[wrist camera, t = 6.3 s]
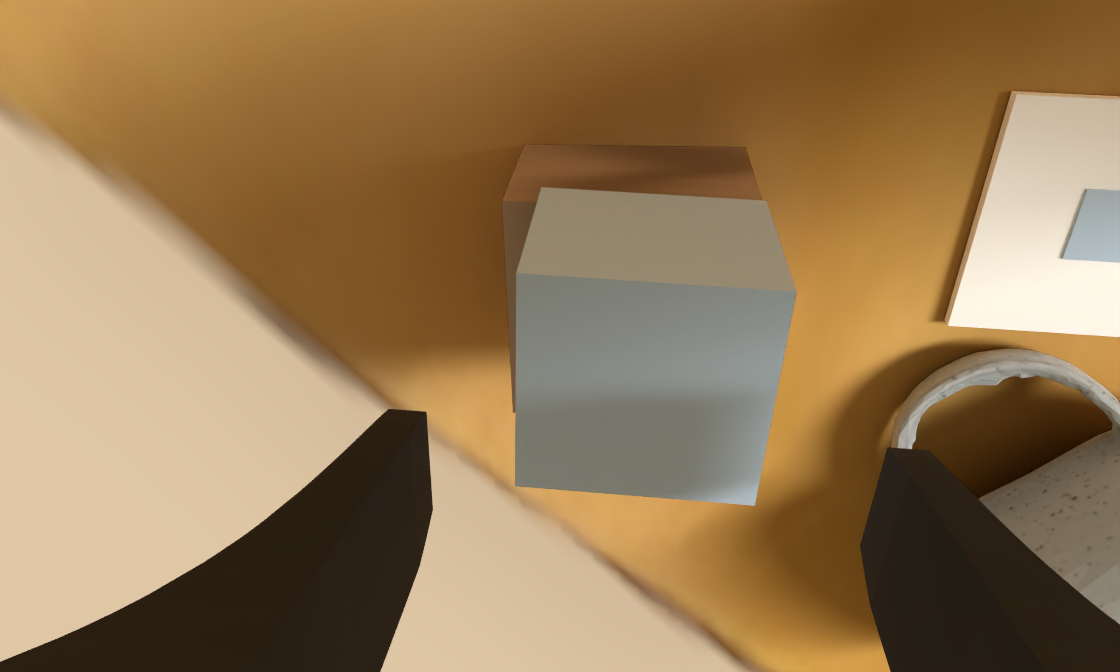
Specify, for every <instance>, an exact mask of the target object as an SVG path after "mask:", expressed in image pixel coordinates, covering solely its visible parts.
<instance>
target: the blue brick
mask: <svg viewBox="0 0 1120 672" xmlns="http://www.w3.org/2000/svg"><path fill="white" fill-rule="evenodd" d="M795 297H796V289H795V285H794V282H793V279H792V276H791V273H790V270H789V267H788V264H787V261H786V258H785V255H784V252H783V249H782V246H781V243H780V240H779V237H778V234H777V231H776V228H775V225H774V222H773V219H772V216H771V213H770V210H769V207H768V204H767V201H762V200H746V199H729V198H713V197H696V196H680V195H663V194H647V193H630V192H614V191H597V190H580V189H564V188H547V187H541V190H540V194H539V197H538V201H537V204H536V207H535V211H534V214H533V218H532V221H531V225H530V228H529V231H528V235H527V238H526V242H525V245H524V248H523V252H522V255H521V259H520V262H519V266H518V269H517V272H516V424H515V486H520V487H533V488H545V489H557V490H570V491H582V492H594V493H607V494H619V495H631V496H644V497H656V498H668V499H681V500H693V501H705V502H718V503H730V504H742V505H754V506H755V502H756V497H757V492H758V487H759V482H760V476H761V471H762V466H763V461H764V456H765V451H766V446H767V441H768V435H769V430H770V425H771V420H772V415H773V410H774V405H775V400H776V395H777V389H778V384H779V379H780V374H781V369H782V364H783V359H784V354H785V348H786V343H787V338H788V333H789V328H790V323H791V318H792V313H793V307H794V302H795Z"/></svg>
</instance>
